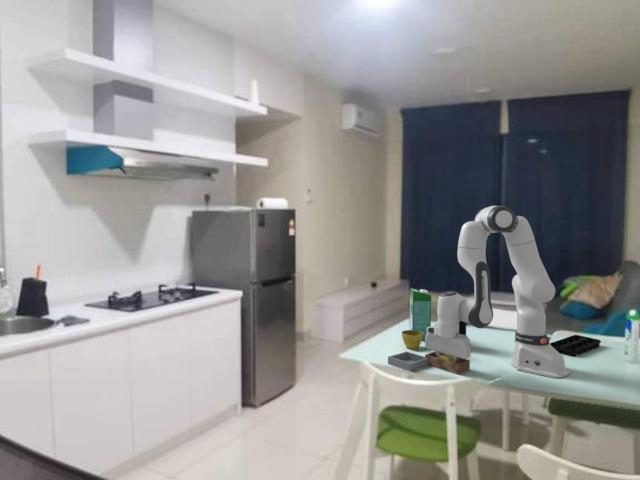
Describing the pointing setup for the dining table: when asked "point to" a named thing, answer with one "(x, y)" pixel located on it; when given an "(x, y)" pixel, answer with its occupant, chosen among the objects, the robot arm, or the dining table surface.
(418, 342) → the flower pot
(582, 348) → the egg carton
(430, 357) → the box
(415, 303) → the milk carton
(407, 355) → the tub
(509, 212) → the robot arm
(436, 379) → the dining table surface
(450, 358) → the block
